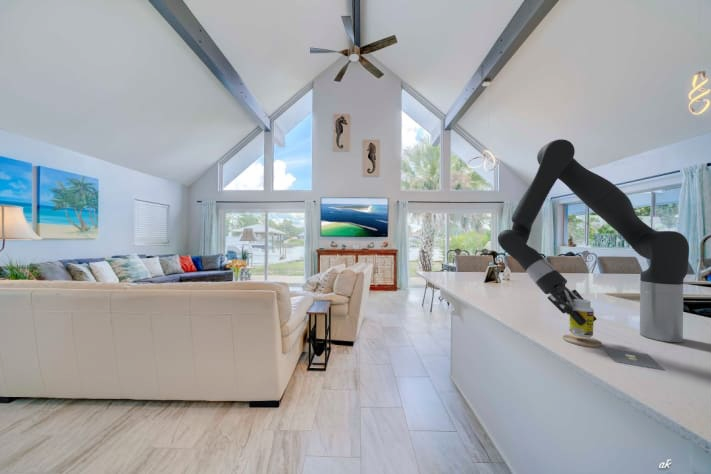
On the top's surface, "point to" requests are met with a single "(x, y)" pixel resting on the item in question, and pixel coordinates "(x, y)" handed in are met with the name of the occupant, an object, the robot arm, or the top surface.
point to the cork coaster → (582, 341)
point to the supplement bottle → (587, 314)
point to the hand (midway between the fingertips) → (588, 322)
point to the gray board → (633, 358)
